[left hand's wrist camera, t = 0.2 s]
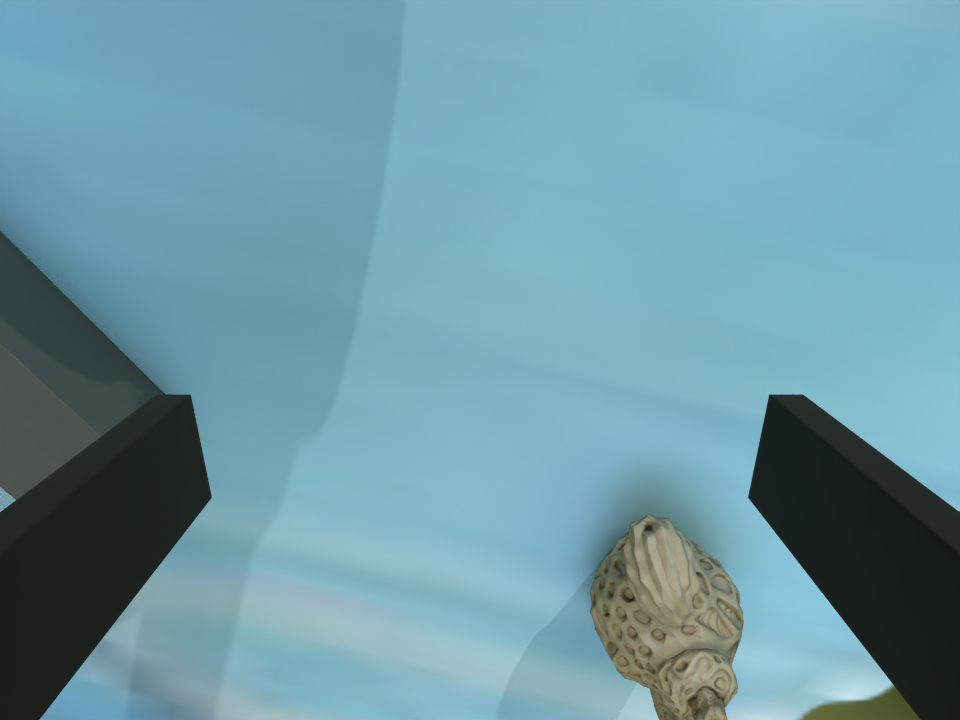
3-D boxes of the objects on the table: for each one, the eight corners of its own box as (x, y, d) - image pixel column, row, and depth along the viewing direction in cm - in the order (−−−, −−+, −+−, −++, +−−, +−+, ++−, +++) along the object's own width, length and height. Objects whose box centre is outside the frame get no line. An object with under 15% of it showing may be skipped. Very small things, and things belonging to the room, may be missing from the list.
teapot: (561, 479, 45) (598, 627, 31) (702, 452, 44) (805, 592, 30) (599, 665, 53) (642, 853, 39) (720, 646, 52) (810, 830, 38)
